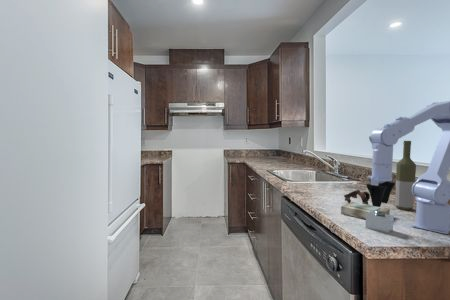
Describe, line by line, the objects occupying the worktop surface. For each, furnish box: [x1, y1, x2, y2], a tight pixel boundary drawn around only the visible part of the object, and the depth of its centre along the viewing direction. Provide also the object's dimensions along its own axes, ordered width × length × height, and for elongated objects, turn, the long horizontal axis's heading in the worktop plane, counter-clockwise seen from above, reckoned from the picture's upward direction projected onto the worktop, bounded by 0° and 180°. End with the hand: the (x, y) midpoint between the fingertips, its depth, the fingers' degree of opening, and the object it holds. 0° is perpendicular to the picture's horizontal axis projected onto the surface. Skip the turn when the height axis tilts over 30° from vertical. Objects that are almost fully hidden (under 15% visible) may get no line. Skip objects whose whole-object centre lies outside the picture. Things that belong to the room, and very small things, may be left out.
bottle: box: [395, 140, 417, 211], centre depth 112 cm, size 7×7×30 cm
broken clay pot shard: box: [343, 189, 371, 205], centre depth 119 cm, size 12×10×8 cm
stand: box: [340, 201, 391, 220], centre depth 103 cm, size 14×12×3 cm
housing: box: [364, 210, 394, 234], centre depth 86 cm, size 7×4×6 cm, turn 43°
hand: (380, 204), depth 86 cm, fingers open, 7 cm apart
